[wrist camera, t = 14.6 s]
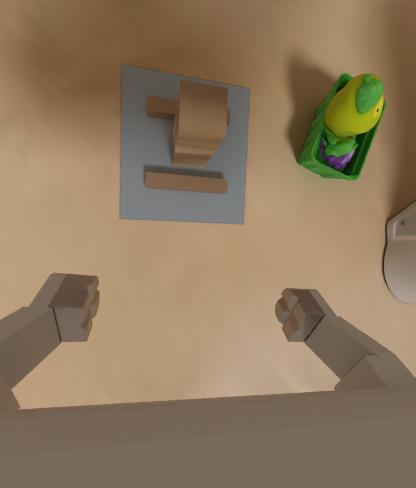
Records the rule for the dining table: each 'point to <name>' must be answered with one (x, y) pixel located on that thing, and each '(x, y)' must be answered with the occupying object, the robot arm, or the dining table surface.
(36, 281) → the dining table surface
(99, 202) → the dining table surface
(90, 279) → the robot arm
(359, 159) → the fruit basket
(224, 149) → the mat
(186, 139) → the card block
